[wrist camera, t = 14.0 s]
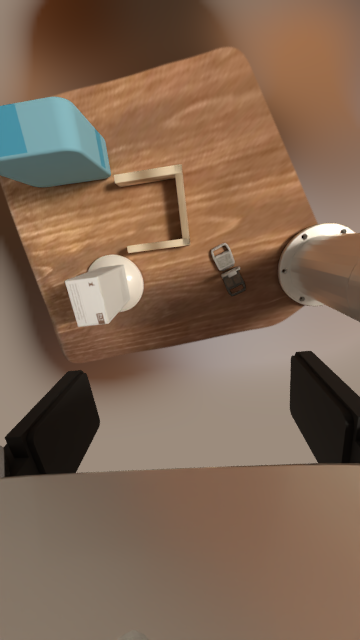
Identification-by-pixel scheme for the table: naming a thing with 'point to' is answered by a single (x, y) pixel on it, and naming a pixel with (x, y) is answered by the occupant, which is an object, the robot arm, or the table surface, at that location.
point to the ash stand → (177, 173)
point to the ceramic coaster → (132, 276)
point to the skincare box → (98, 295)
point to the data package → (50, 144)
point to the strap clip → (231, 276)
